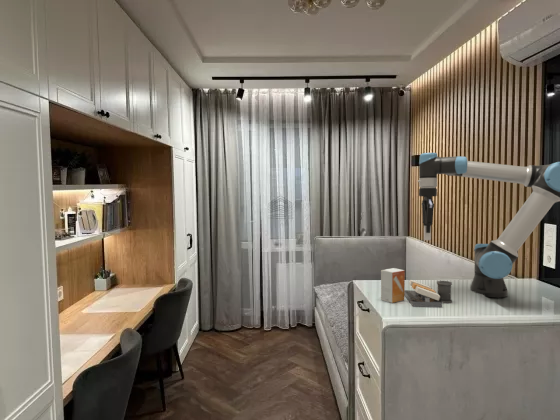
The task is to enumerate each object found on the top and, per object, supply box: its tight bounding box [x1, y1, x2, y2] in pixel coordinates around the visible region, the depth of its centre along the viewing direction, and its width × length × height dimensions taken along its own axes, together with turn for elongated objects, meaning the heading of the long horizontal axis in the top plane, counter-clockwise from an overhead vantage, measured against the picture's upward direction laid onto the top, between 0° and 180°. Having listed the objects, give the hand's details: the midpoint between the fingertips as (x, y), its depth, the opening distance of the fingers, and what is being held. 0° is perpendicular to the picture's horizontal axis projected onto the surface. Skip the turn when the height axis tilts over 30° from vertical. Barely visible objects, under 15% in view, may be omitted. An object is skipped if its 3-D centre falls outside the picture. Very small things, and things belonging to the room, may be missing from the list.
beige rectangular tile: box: [414, 286, 440, 301], centre depth 153 cm, size 9×3×2 cm, turn 83°
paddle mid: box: [411, 283, 437, 293], centre depth 159 cm, size 9×3×2 cm, turn 83°
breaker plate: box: [404, 289, 443, 308], centre depth 159 cm, size 11×18×4 cm, turn 173°
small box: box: [380, 267, 406, 304], centre depth 160 cm, size 8×6×13 cm
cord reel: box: [436, 280, 453, 304], centre depth 158 cm, size 6×6×8 cm
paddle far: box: [408, 279, 433, 290], centre depth 165 cm, size 9×3×2 cm, turn 82°
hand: (427, 239), depth 170 cm, fingers closed
